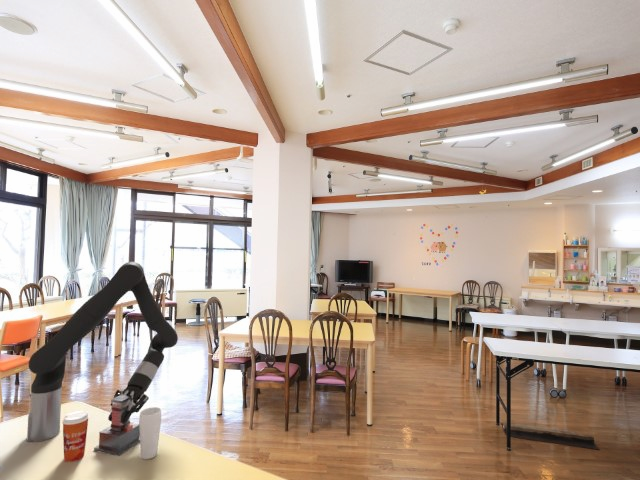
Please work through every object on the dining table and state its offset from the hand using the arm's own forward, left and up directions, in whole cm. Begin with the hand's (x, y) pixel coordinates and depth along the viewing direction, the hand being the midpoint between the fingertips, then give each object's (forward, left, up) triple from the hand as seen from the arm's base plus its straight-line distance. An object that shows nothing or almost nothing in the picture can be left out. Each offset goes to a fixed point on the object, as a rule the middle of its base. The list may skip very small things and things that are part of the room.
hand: (116, 421), depth 124 cm
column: (+1, +1, -9) cm, 9 cm away
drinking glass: (+10, -11, -9) cm, 18 cm away
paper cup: (-12, 0, -9) cm, 15 cm away
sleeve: (+1, +1, -9) cm, 9 cm away
